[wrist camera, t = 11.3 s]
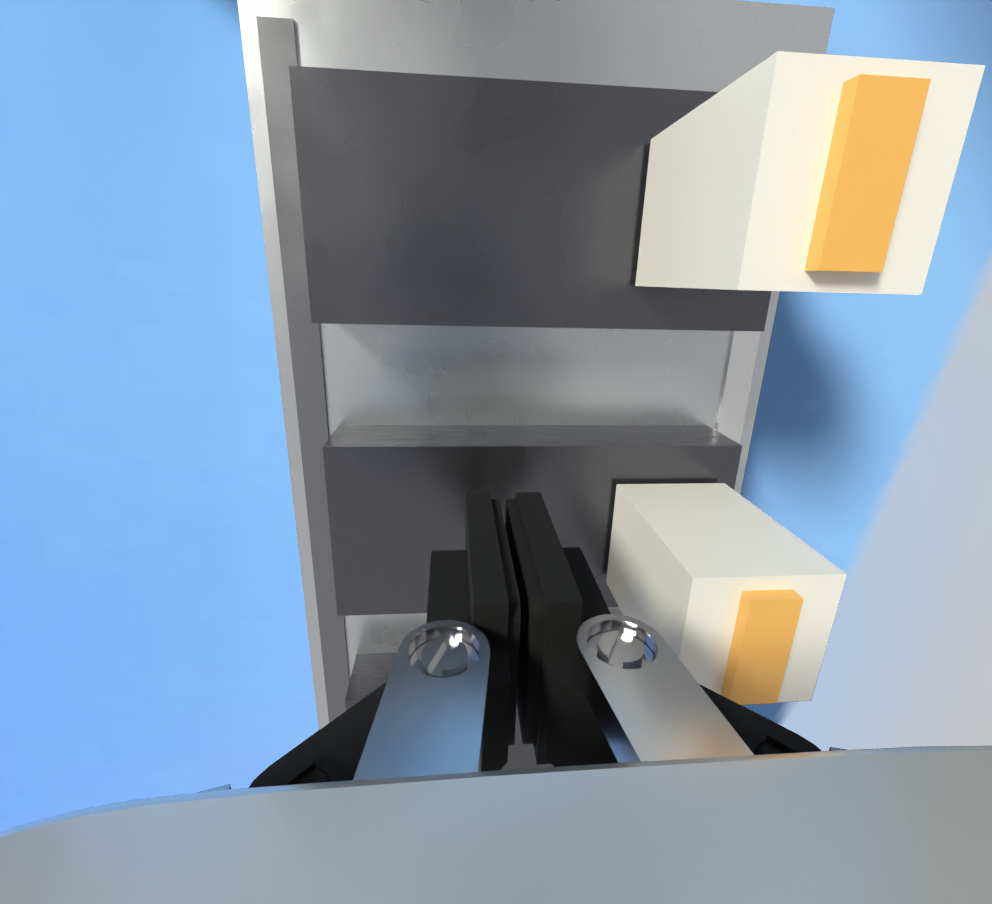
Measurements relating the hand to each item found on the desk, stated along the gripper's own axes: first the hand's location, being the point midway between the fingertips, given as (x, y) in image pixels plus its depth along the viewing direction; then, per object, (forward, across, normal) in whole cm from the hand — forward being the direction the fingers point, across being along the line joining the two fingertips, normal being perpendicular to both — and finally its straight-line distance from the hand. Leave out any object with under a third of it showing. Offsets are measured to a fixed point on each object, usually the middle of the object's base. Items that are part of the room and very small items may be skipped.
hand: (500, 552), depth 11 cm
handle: (+2, -5, -7) cm, 9 cm away
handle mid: (+2, -5, +1) cm, 5 cm away
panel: (+6, -1, +1) cm, 6 cm away
